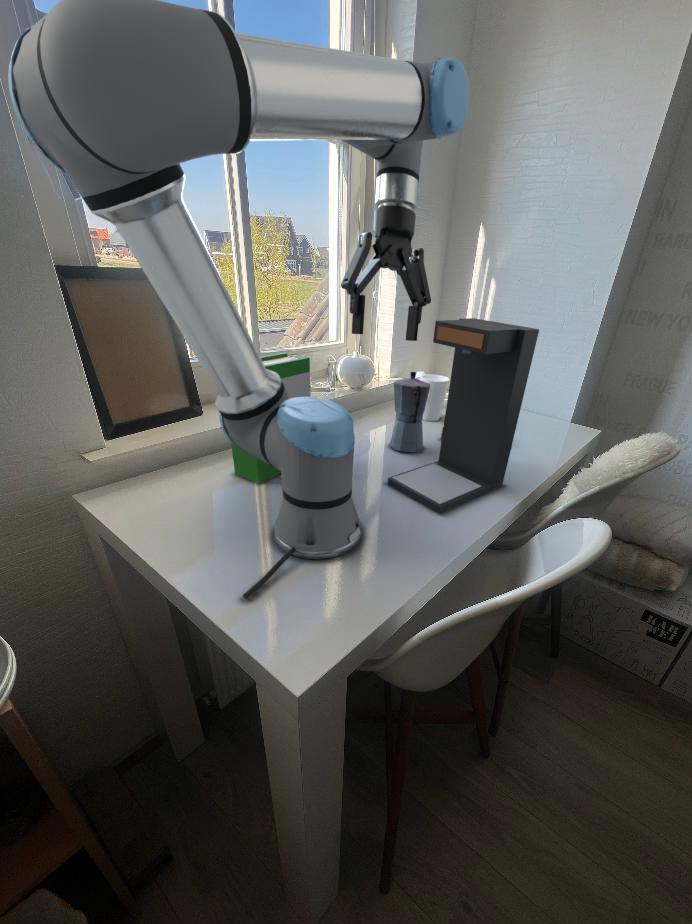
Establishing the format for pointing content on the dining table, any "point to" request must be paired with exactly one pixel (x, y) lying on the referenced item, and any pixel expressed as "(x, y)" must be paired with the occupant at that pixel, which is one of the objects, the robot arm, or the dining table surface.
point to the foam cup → (435, 395)
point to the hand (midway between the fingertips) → (385, 337)
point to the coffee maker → (475, 412)
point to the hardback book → (297, 385)
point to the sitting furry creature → (419, 375)
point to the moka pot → (409, 413)
